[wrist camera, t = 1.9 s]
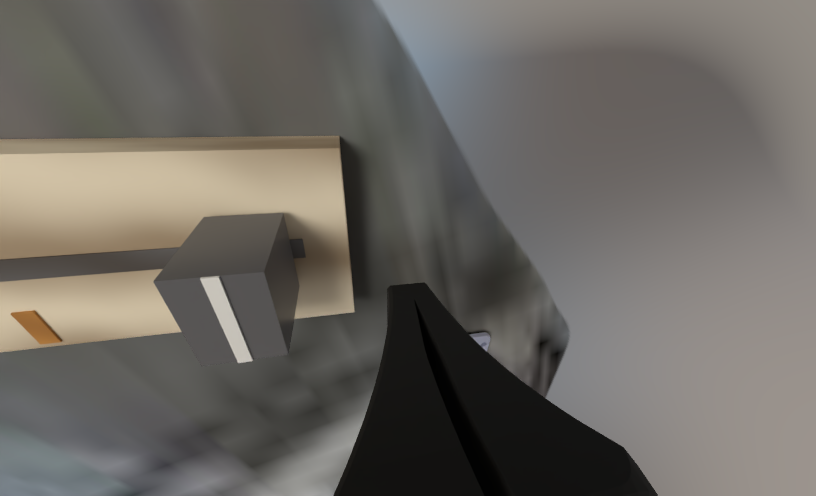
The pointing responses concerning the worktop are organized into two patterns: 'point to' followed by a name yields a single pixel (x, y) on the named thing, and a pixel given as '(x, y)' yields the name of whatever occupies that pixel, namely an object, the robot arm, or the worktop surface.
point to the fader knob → (233, 288)
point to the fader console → (152, 226)
